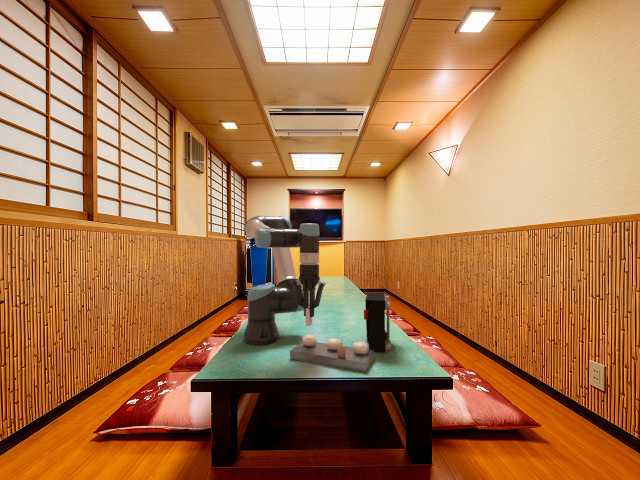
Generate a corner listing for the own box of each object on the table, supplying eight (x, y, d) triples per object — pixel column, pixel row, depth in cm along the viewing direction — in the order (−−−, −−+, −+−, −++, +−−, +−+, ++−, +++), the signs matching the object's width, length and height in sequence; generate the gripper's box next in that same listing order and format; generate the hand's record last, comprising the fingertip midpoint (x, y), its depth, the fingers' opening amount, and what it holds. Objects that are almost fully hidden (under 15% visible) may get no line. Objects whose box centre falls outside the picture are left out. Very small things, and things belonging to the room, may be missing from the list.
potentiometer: (336, 357, 98) (336, 342, 98) (339, 354, 101) (339, 340, 101) (343, 358, 97) (343, 343, 97) (346, 355, 100) (346, 341, 100)
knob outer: (351, 361, 101) (351, 345, 101) (355, 356, 106) (355, 341, 106) (365, 363, 99) (365, 347, 99) (369, 358, 104) (369, 342, 104)
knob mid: (325, 356, 105) (325, 341, 105) (330, 352, 110) (330, 337, 110) (338, 358, 103) (338, 343, 103) (342, 354, 108) (342, 339, 108)
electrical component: (390, 353, 110) (390, 300, 110) (363, 351, 112) (363, 299, 112) (389, 338, 127) (389, 293, 127) (365, 337, 129) (365, 292, 129)
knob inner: (300, 352, 109) (300, 338, 109) (306, 348, 114) (306, 334, 114) (312, 354, 107) (312, 339, 107) (318, 350, 112) (318, 335, 112)
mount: (290, 358, 105) (290, 350, 105) (304, 347, 116) (304, 340, 116) (365, 372, 94) (365, 363, 94) (374, 358, 105) (374, 350, 105)
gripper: (289, 263, 110) (289, 325, 110) (321, 265, 105) (320, 330, 105) (298, 262, 117) (298, 320, 117) (328, 263, 112) (328, 324, 112)
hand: (308, 325), depth 111 cm, fingers closed
